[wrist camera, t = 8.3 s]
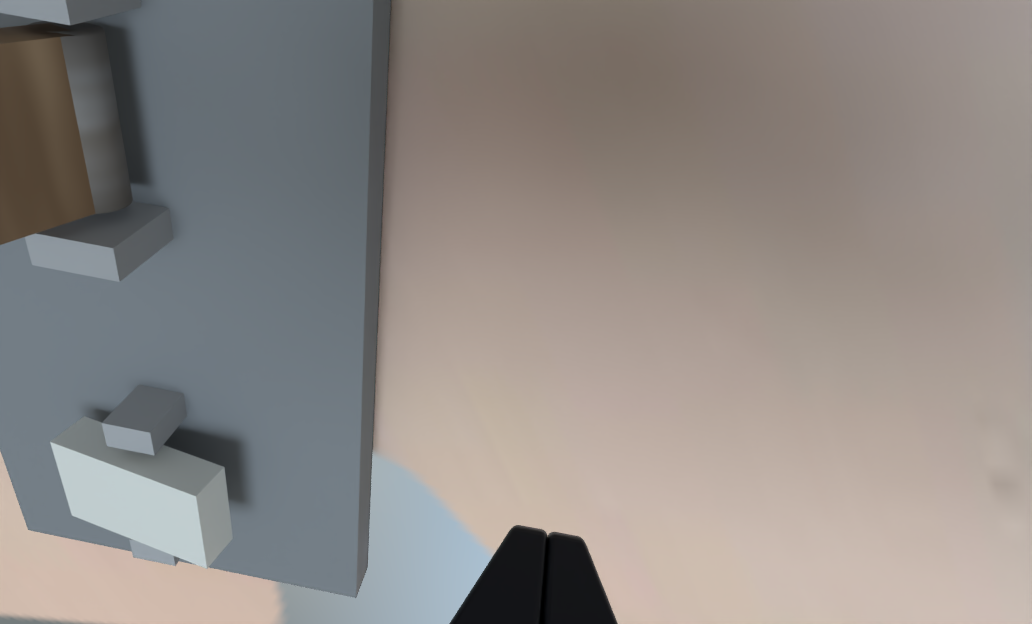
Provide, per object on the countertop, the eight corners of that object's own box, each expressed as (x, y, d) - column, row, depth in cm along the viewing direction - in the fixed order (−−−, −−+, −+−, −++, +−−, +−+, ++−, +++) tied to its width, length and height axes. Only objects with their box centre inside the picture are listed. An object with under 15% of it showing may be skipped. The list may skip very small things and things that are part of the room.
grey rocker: (224, 467, 23) (195, 496, 22) (232, 538, 25) (206, 568, 24) (84, 416, 24) (50, 442, 23) (102, 488, 26) (71, 515, 25)
